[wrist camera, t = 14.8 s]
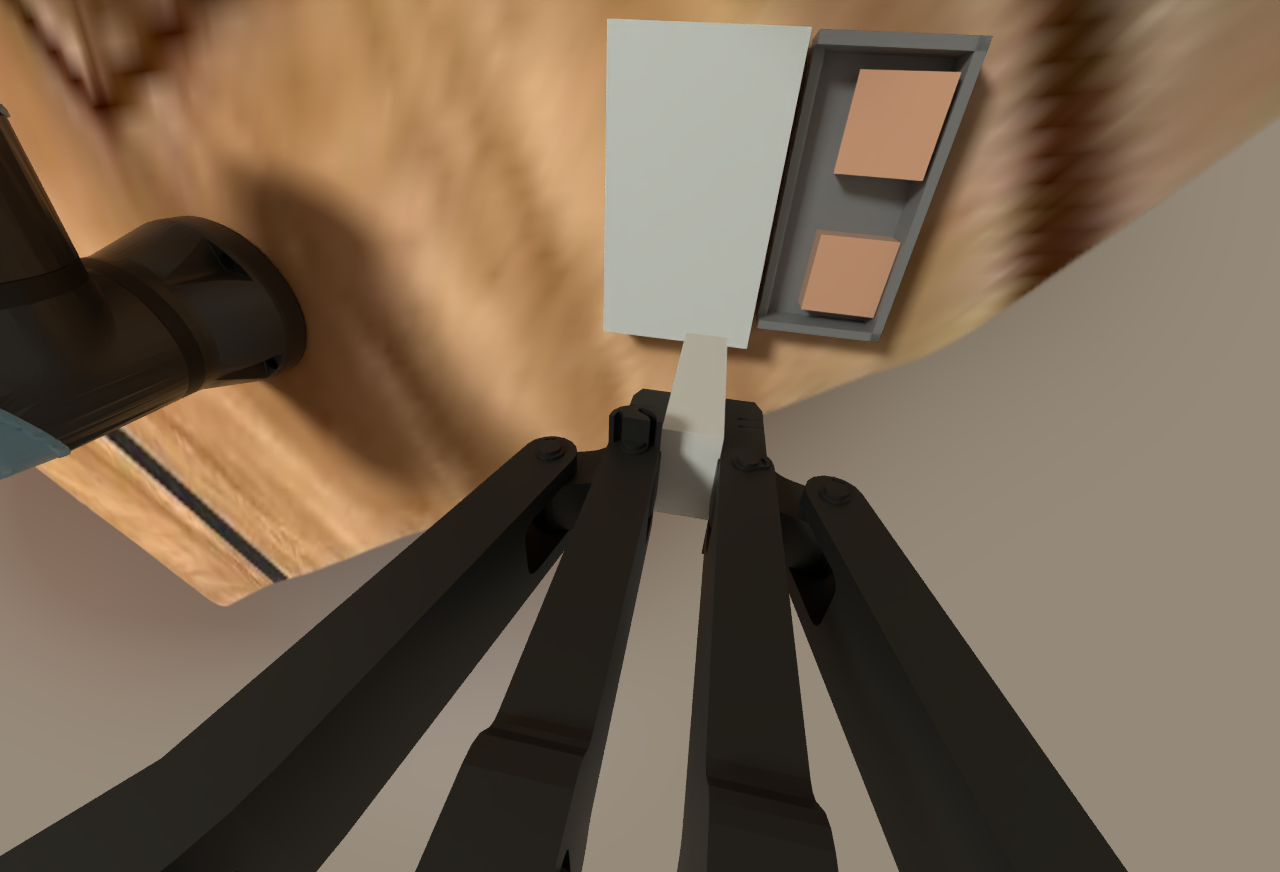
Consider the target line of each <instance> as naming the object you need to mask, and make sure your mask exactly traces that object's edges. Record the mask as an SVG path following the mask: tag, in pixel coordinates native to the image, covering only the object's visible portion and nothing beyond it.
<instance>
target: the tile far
mask: <svg viewBox="0 0 1280 872" xmlns="http://www.w3.org/2000/svg"><path fill="white" fill-rule="evenodd" d="M900 244H901V242H899V241H898V240H896V239H895V238H893V237H888V236H878V235H868V234H858V233H848V232H838V231H828V230H819V229H817V231H816V235H815V239H814V243H813V246H812V250H811V254H810V258H809V261H808V265H807V269H806V273H805V277H804V280H803V284H802V288H801V292H800V296H799V299H798V302H799V305H800V308H801V309H804V310H812V311H820V312H828V313H837V314H845V315H853V316H861V317H870V318H874V315H875V312H876V309H877V307H878V304H879V301H880V298H881V296H882V293H883V290H884V287H885V285H886V282H887V279H888V277H889V274H890V271H891V268H892V266H893V263H894V260H895V257H896V255H897V252H898V249H899V246H900Z"/></svg>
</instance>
